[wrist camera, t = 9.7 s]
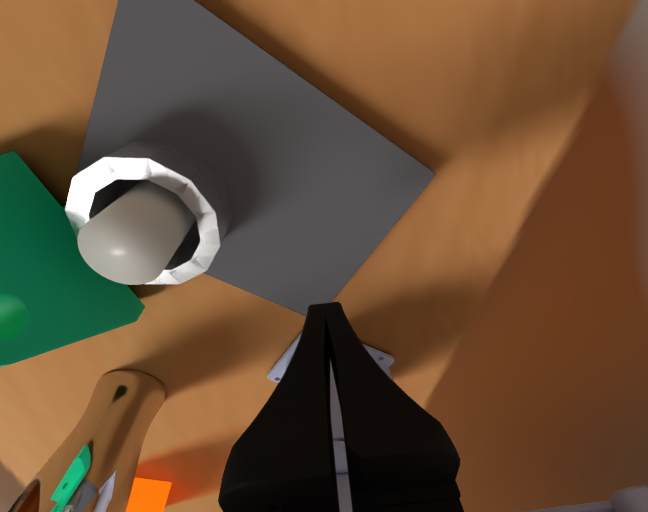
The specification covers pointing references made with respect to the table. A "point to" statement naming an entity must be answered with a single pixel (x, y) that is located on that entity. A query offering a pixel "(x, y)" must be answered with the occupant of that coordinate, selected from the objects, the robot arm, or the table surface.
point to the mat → (253, 149)
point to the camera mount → (48, 274)
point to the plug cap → (136, 234)
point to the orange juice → (148, 495)
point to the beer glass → (98, 450)
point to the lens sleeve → (171, 173)
